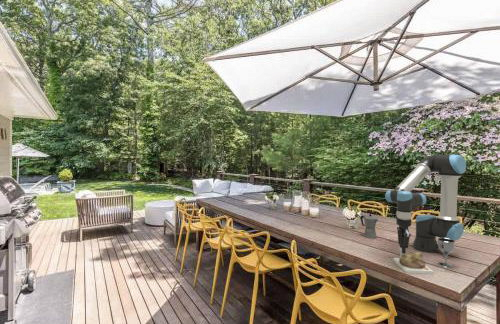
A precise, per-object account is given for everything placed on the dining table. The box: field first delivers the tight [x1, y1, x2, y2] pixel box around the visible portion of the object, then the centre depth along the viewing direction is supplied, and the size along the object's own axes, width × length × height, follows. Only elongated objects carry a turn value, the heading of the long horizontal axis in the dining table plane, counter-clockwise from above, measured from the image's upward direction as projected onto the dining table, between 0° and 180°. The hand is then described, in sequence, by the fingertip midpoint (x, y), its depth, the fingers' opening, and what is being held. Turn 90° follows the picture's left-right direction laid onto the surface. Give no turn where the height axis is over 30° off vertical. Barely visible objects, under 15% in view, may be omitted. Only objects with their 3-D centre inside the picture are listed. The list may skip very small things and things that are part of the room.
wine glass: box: [437, 237, 456, 269], centre depth 160 cm, size 8×8×15 cm
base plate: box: [393, 257, 434, 275], centre depth 159 cm, size 14×18×2 cm
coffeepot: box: [359, 213, 379, 239], centre depth 216 cm, size 15×9×18 cm, turn 33°
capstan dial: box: [399, 251, 426, 268], centre depth 158 cm, size 14×13×6 cm
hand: (402, 258), depth 159 cm, fingers closed
